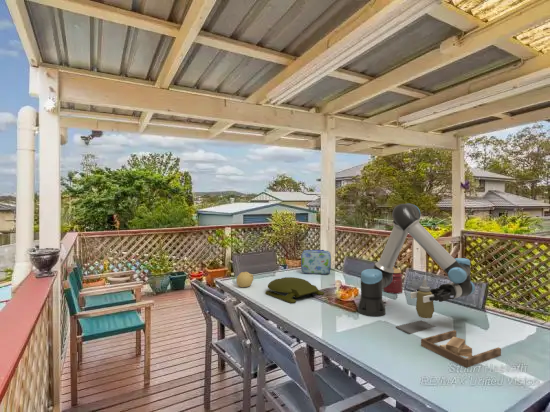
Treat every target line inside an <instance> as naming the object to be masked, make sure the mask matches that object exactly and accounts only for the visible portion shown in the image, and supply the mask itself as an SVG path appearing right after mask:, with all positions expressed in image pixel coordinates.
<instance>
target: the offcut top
mask: <svg viewBox="0 0 550 412" xmlns="http://www.w3.org/2000/svg"><path fill="white" fill-rule="evenodd" d="M465 344H466V339H464V338H460V337H457V336H456V337H452V338H451V339H449V341H448V342H446V344H445V345H446V349H447V350H451V351H454V352H459V351H460V350H461V349H462V347H463V346H464V345H465Z"/></svg>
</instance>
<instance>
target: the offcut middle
mask: <svg viewBox="0 0 550 412" xmlns="http://www.w3.org/2000/svg"><path fill="white" fill-rule="evenodd" d="M439 346H440V347H442V348H444V349H446V344H440V345H439ZM446 350H447V349H446ZM448 351H451V350H448ZM451 352H453V353H455V354H469V353H472V354H473V347H470V346H469V345H467V344H466V343H465V345H464V346H463V347H462V349H461V350H460V351H459V352H454V351H451Z"/></svg>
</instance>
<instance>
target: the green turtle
mask: <svg viewBox="0 0 550 412" xmlns="http://www.w3.org/2000/svg"><path fill="white" fill-rule="evenodd" d="M267 289H269V290H266V291H265V294H266V295H267V296H270V297H272V298H276V299H278V300H281V301H283V302H286V303H289V304H296V302H297V300H296V299H297V298H301V297H304V296H308V295H311V294H313V293H314V295H316V294H317V296H320V295H322V296H324V295H325V292H324V291H322V290H320V289H318V287H317V286H316V285H313V284H311V282H310V281H308V280H306V279H303V278H300V277H295V276H294V277H290V276H288V277H287V276H286V277H281V278H276V279H273V280H271V281H270V282H269V283H268V284H267ZM281 293H285V294H286V295H284V294H281ZM294 298H296V299H294Z"/></svg>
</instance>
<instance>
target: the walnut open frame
mask: <svg viewBox="0 0 550 412" xmlns="http://www.w3.org/2000/svg"><path fill="white" fill-rule="evenodd" d="M452 337H457V330H455V329H454V330H449V331H446V332H443V333H439V334H435V335H431V336H428V337H423V338H420V346H421V347H422V348H425V349H427V350H429V351H430V352H434V353H435V354H437V355H440V356H441V357H443V358H446V359H447V360H449V361H452V362H453V363H456V364H458V365H460V366H462V367H463V368H470V367H473V366H476V365H478V364H481V363H483V362H486V361H489V360H491V359H494V358H498V357H500V356H502V348H501V347H495V348H492V349H489V350H486V351H483V352H481V353H477V354H474V355H472V356H471V357H466V358H465V356H460V355H457V354H455V353H453V352H451V351H448V350H446V349H444V348H442V347H440V345H438V344H437V343H440V342H445V341H448V340H451V338H452Z"/></svg>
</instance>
